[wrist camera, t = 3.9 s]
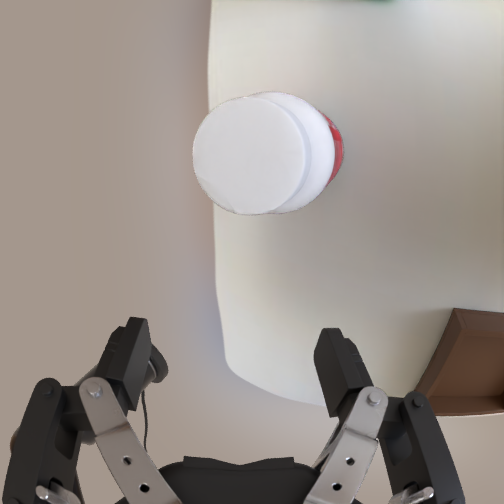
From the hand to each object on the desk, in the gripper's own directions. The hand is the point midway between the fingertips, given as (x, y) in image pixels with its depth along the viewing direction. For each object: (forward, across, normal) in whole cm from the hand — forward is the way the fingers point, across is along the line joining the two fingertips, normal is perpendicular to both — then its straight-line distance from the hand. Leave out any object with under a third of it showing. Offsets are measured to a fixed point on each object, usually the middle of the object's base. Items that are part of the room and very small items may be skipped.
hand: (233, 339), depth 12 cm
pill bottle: (+12, -5, -8) cm, 15 cm away
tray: (+1, -26, +7) cm, 27 cm away
